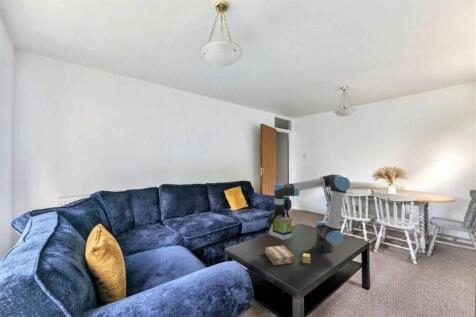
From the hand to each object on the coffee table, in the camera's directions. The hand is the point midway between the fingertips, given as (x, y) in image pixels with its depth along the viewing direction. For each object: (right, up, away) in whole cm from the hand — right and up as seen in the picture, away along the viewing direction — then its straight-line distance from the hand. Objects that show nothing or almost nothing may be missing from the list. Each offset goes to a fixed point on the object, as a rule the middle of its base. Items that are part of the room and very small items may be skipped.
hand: (279, 231), depth 161 cm
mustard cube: (+20, -21, -6) cm, 29 cm away
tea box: (+1, -4, -1) cm, 4 cm away
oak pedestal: (0, -21, 0) cm, 21 cm away
